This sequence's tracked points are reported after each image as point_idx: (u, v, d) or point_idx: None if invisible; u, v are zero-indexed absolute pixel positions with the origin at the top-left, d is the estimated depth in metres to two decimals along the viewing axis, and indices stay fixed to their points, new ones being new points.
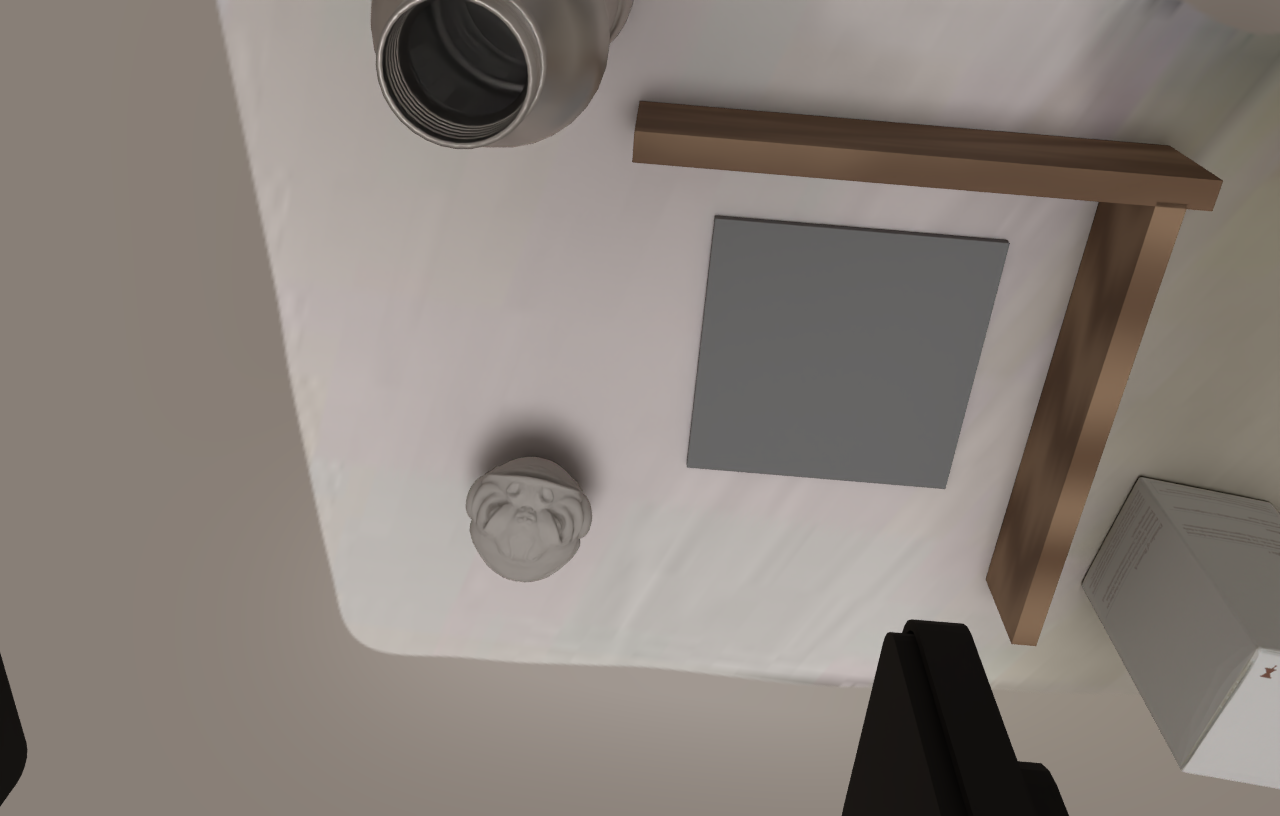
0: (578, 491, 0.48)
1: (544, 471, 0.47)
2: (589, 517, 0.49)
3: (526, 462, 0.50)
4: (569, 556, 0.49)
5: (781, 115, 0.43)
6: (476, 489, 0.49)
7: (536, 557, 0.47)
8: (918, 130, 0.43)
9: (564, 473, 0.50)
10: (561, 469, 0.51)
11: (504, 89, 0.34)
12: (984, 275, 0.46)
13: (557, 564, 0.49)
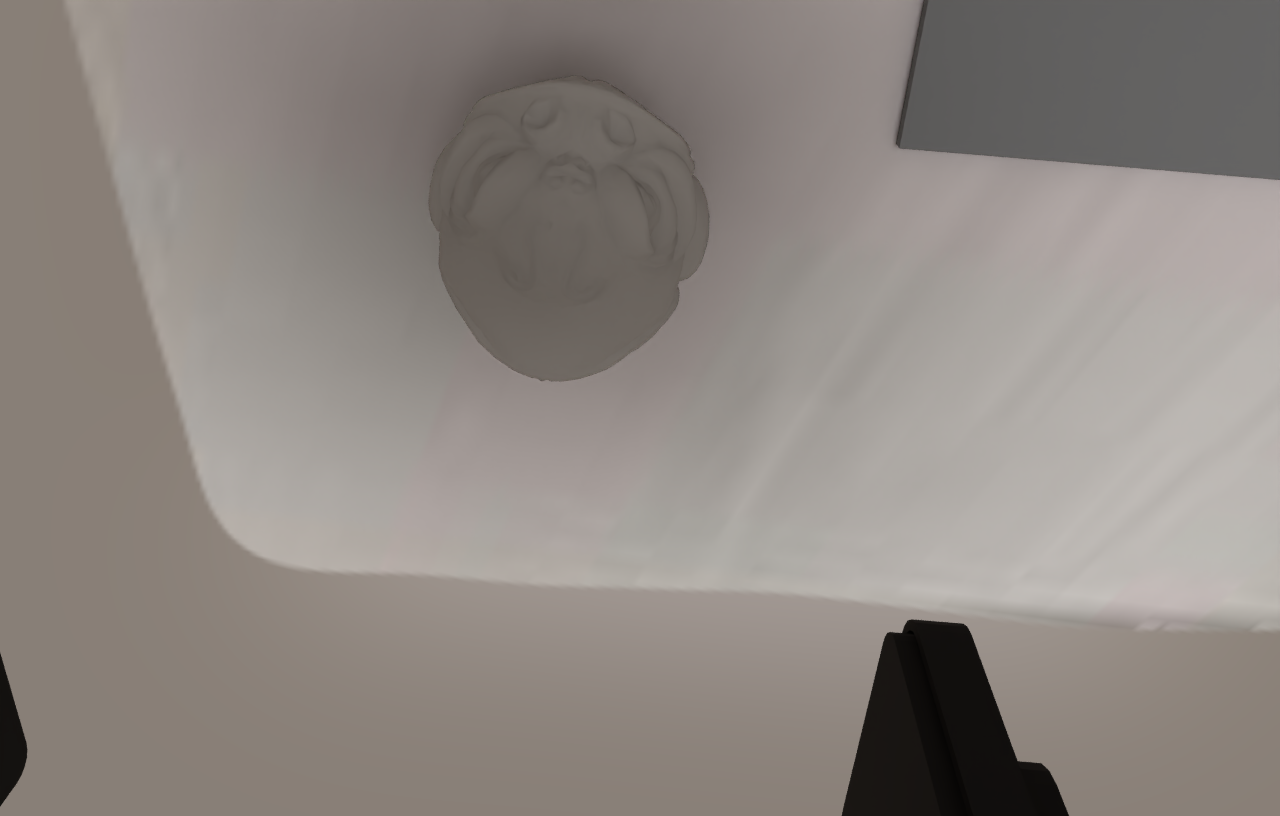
0: (687, 146, 0.21)
1: (610, 88, 0.20)
2: (706, 224, 0.22)
3: None
4: (663, 306, 0.22)
5: None
6: None
7: (593, 287, 0.20)
8: None
9: None
10: None
11: None
12: None
13: (636, 325, 0.22)
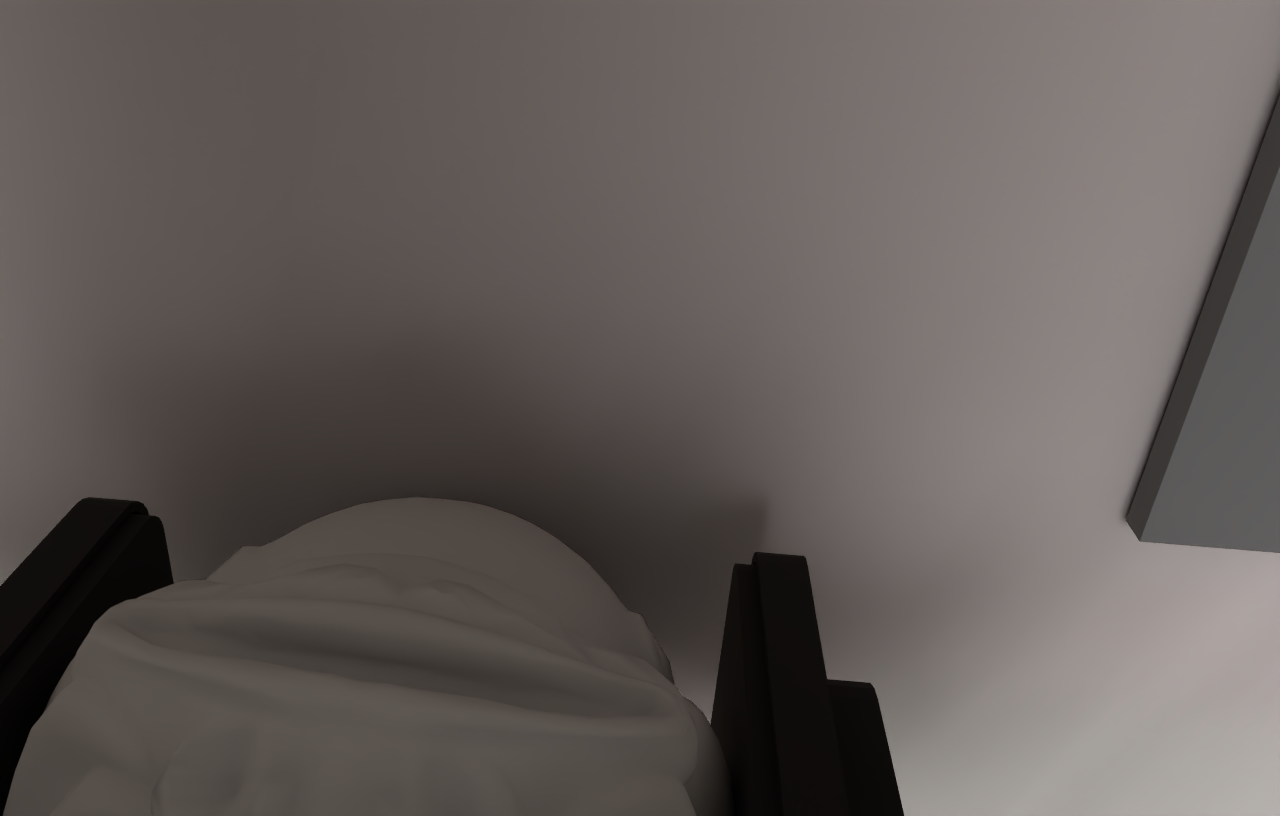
0: (679, 726, 0.08)
1: (459, 612, 0.07)
2: None
3: (383, 531, 0.09)
4: None
5: None
6: None
7: None
8: None
9: (584, 584, 0.10)
10: (568, 562, 0.10)
11: None
12: None
13: None
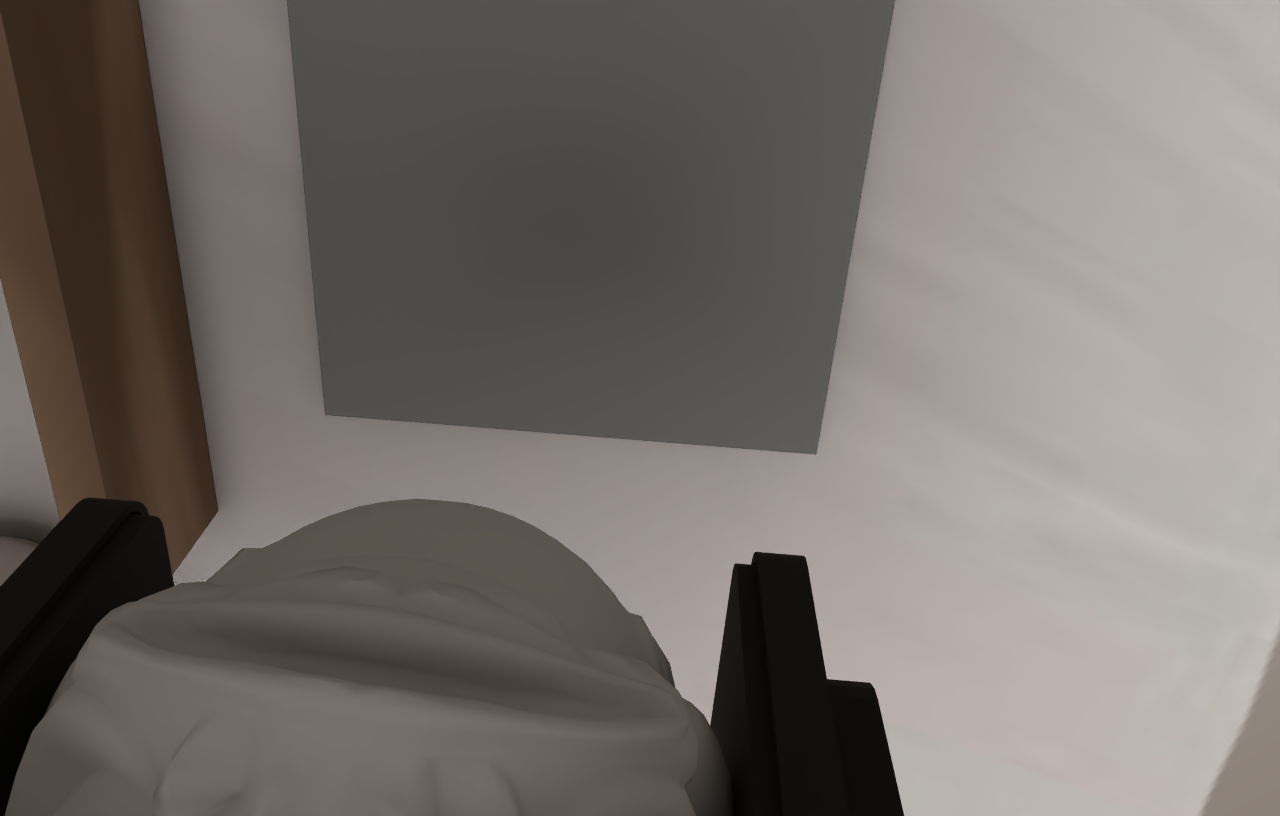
0: (680, 728, 0.08)
1: (459, 615, 0.07)
2: None
3: (384, 533, 0.09)
4: None
5: None
6: None
7: None
8: None
9: (584, 586, 0.10)
10: (569, 564, 0.10)
11: None
12: None
13: None
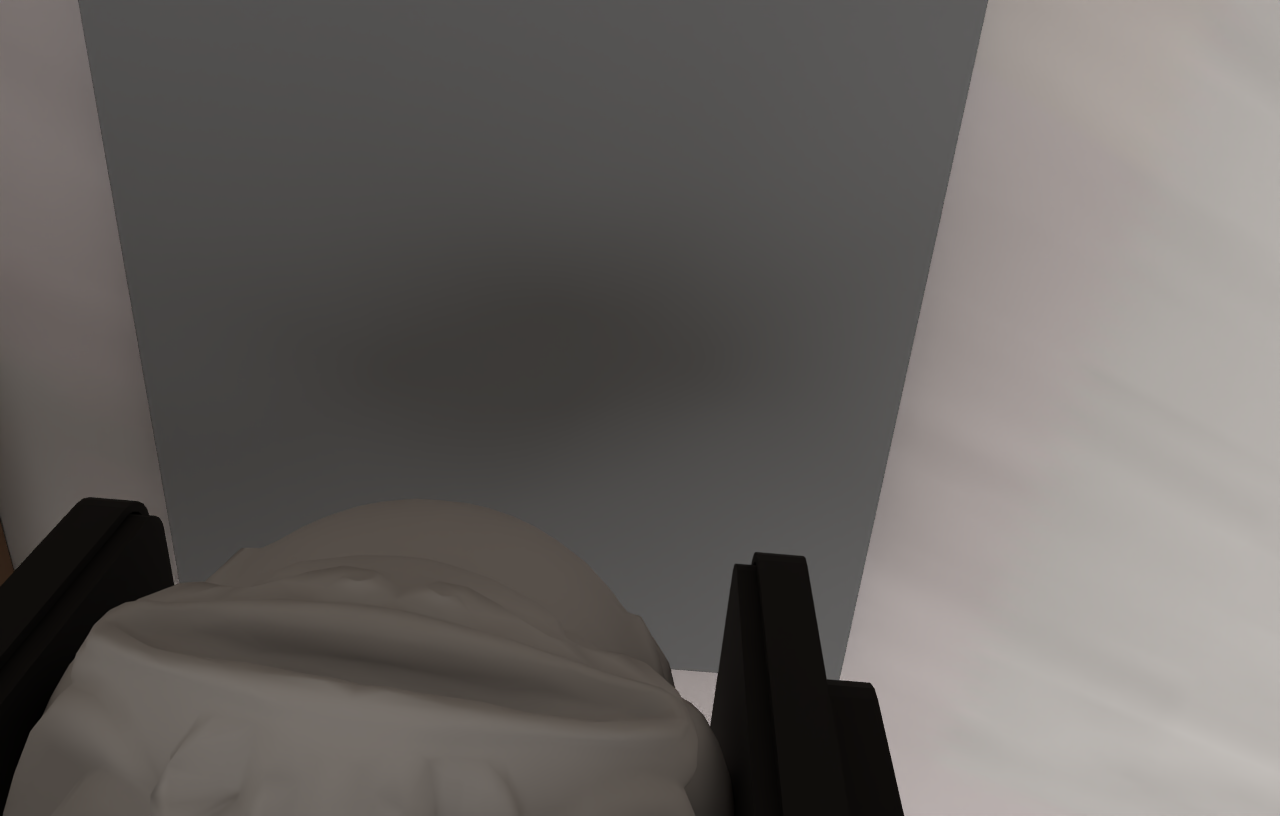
0: (679, 728, 0.08)
1: (458, 615, 0.07)
2: None
3: (383, 533, 0.09)
4: None
5: None
6: None
7: None
8: None
9: (584, 586, 0.10)
10: (568, 564, 0.10)
11: None
12: None
13: None
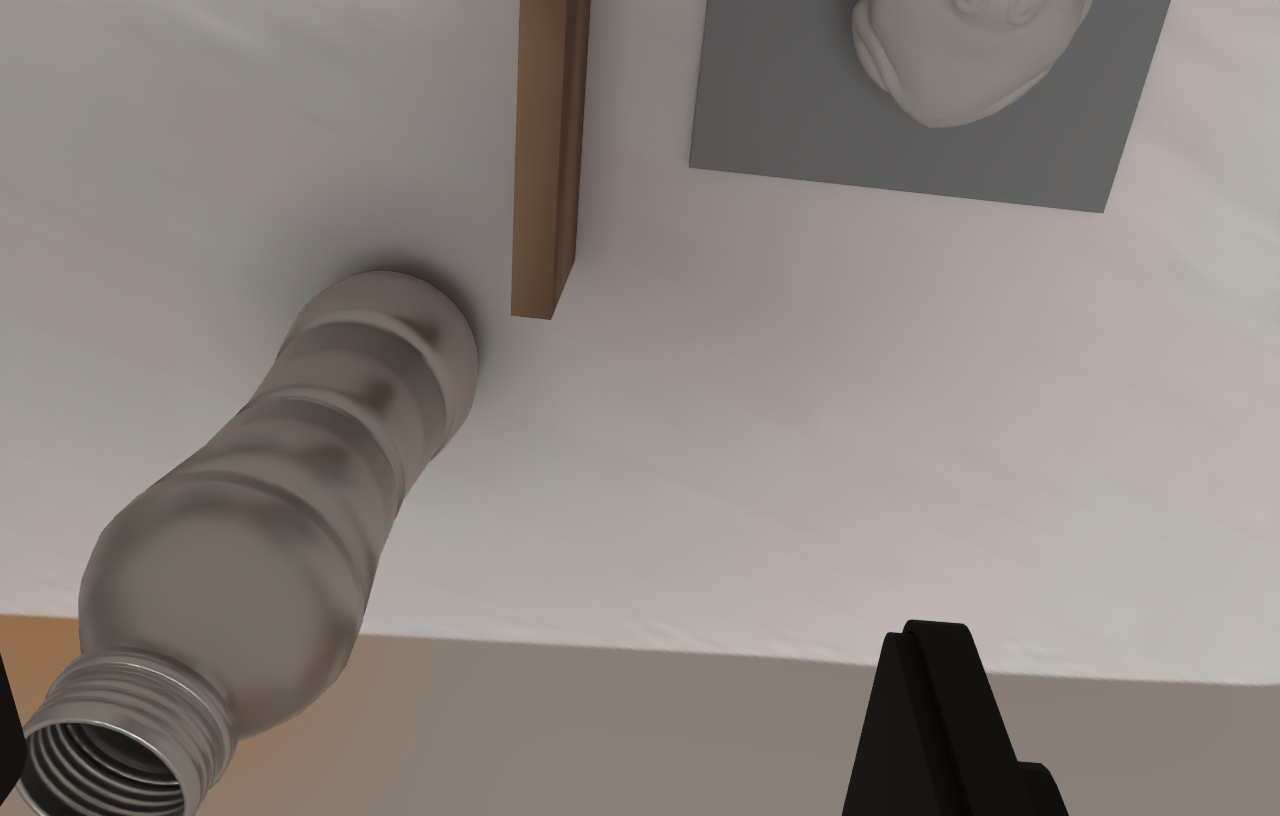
0: None
1: None
2: None
3: None
4: (1064, 46, 0.25)
5: None
6: None
7: (1031, 9, 0.24)
8: None
9: None
10: None
11: None
12: None
13: (1040, 61, 0.25)
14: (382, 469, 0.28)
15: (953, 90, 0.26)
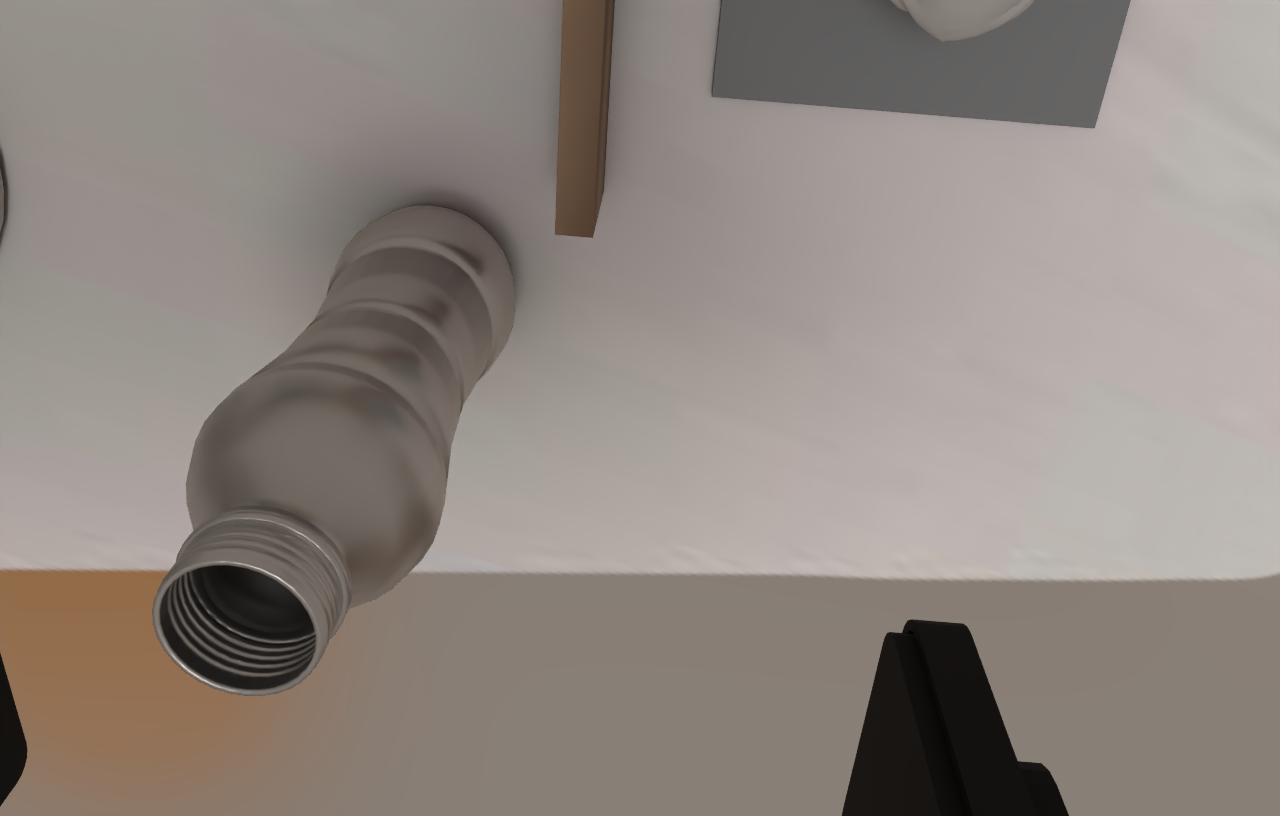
0: None
1: None
2: None
3: None
4: None
5: None
6: None
7: None
8: None
9: None
10: None
11: None
12: None
13: None
14: (448, 372, 0.30)
15: (966, 1, 0.28)
